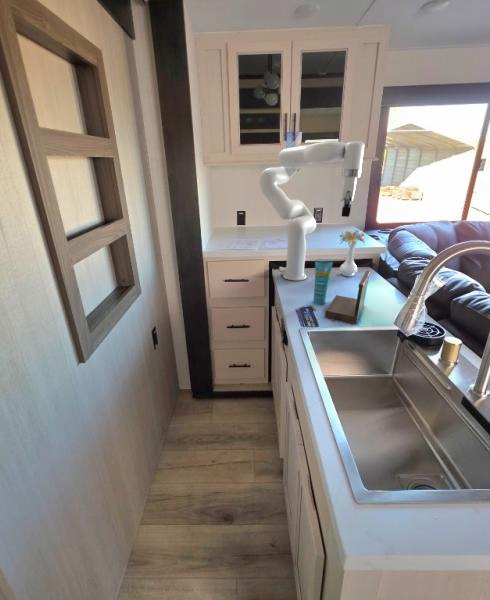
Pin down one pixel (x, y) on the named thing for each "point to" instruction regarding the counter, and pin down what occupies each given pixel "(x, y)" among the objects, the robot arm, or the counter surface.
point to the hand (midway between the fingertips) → (345, 214)
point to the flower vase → (350, 251)
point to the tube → (321, 280)
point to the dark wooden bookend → (349, 304)
